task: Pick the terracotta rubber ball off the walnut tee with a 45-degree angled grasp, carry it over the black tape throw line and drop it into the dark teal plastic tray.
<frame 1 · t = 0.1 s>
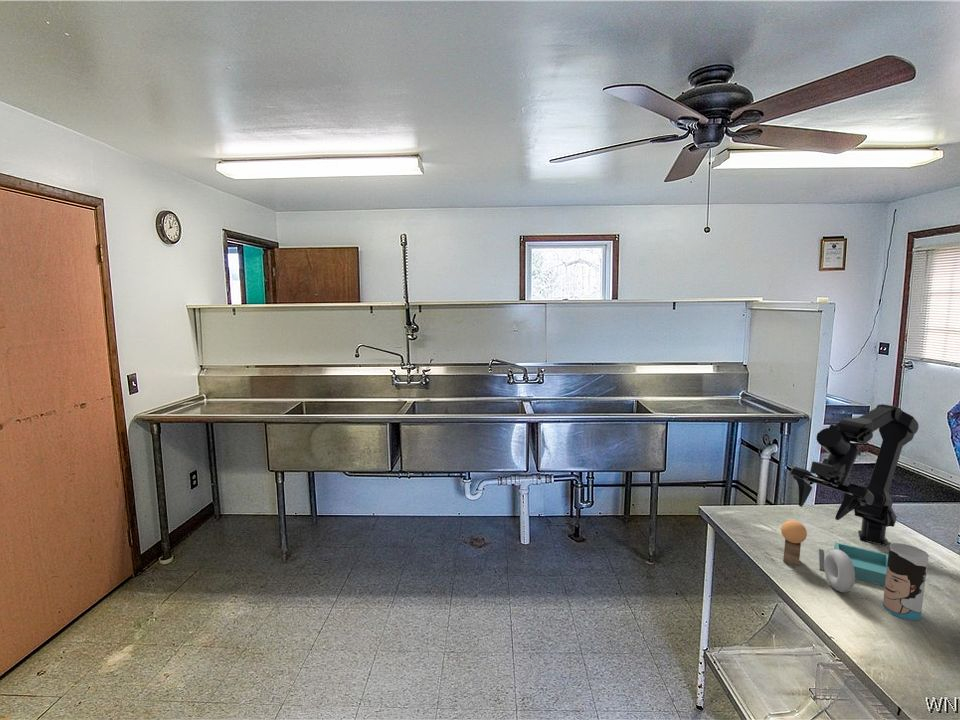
hand: (817, 512, 130), 15 cm above the table, tool tilted 35°, fingers open, 9 cm apart
ball: (793, 531, 132), point 9 cm above the table, touching tee
tee: (791, 560, 133), on the table
tray: (862, 569, 129), on the table
cup: (901, 611, 112), on the table
donut: (837, 589, 120), on the table
throw line: (821, 559, 134), on the table
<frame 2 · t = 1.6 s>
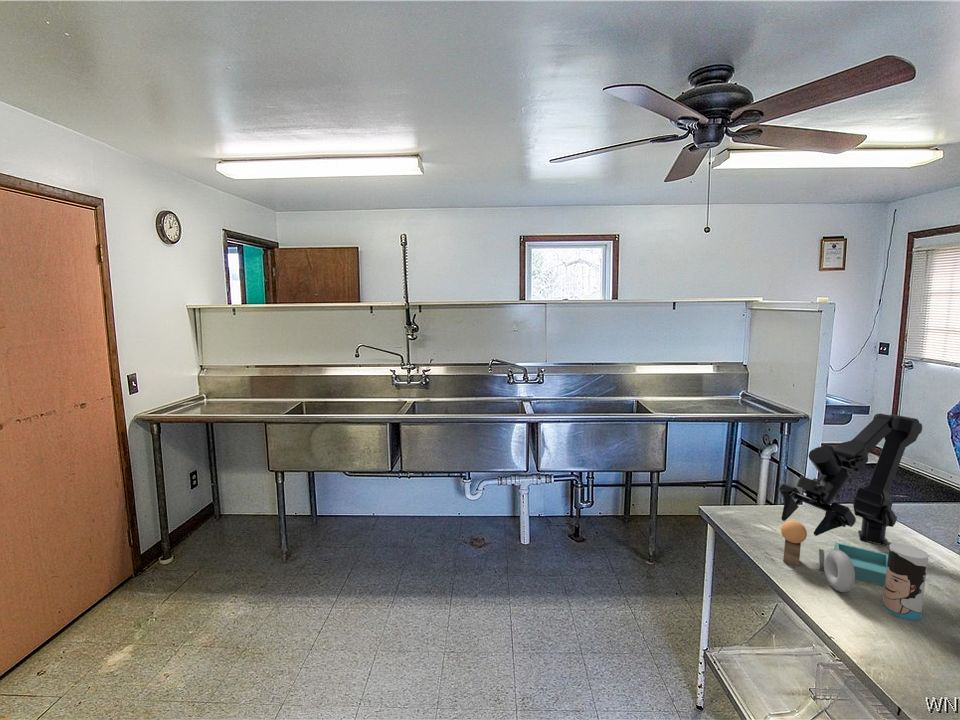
hand: (798, 527, 132), 10 cm above the table, tool tilted 45°, fingers open, 9 cm apart
nothing on the table moved.
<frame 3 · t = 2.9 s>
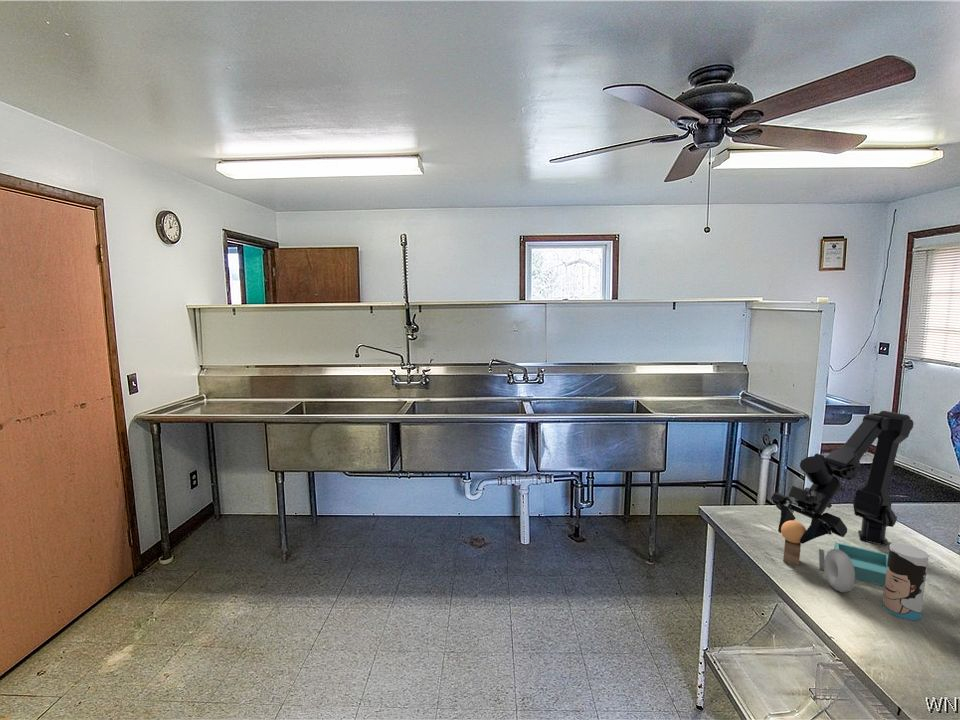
hand: (789, 537, 132), 7 cm above the table, tool tilted 45°, fingers closed on ball, 6 cm apart
ball: (793, 531, 132), point 9 cm above the table, touching gripper, tee
everything else where it was.
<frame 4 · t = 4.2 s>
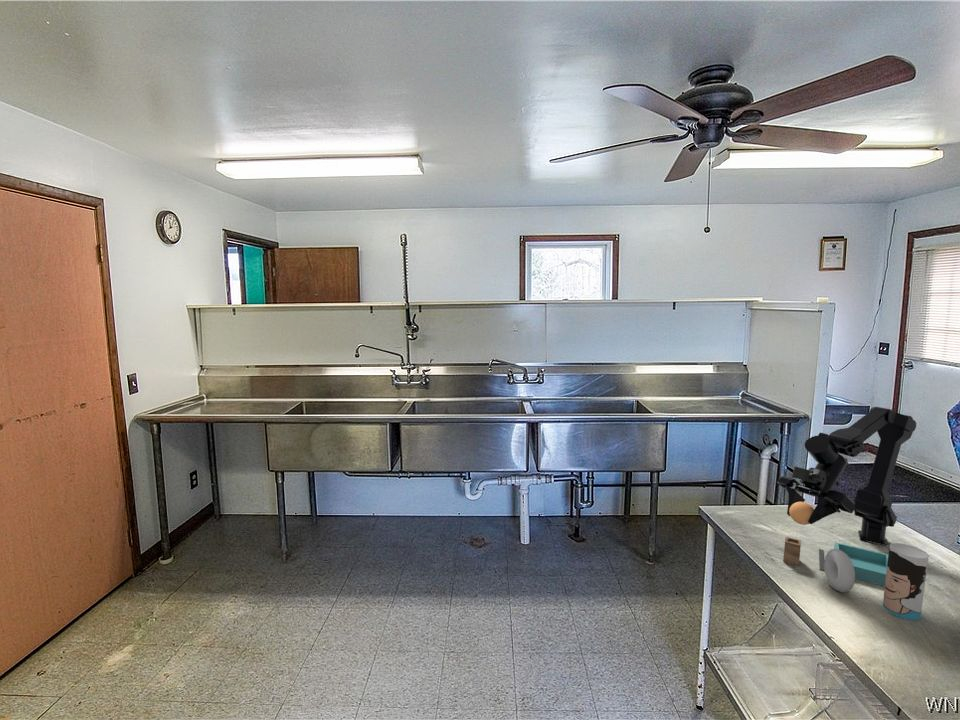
hand: (798, 519, 130), 13 cm above the table, tool tilted 40°, fingers closed on ball, 6 cm apart
ball: (802, 513, 130), point 14 cm above the table, tilted 7°, touching gripper
everything else where it was.
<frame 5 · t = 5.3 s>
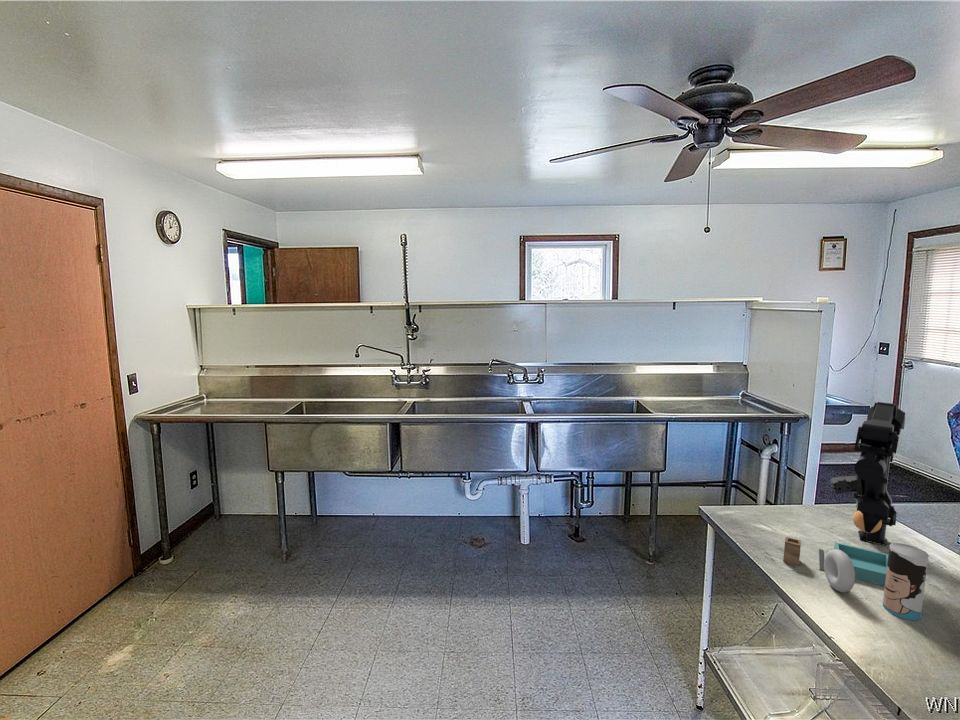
hand: (866, 527, 128), 12 cm above the table, tool pointing down, fingers closed on ball, 6 cm apart
ball: (867, 520, 127), point 14 cm above the table, tilted 45°, touching gripper
everything else where it was.
when the fingers open (4 cm above the table, at t = 6.6 s): ball drops 2 cm, resting on tray.
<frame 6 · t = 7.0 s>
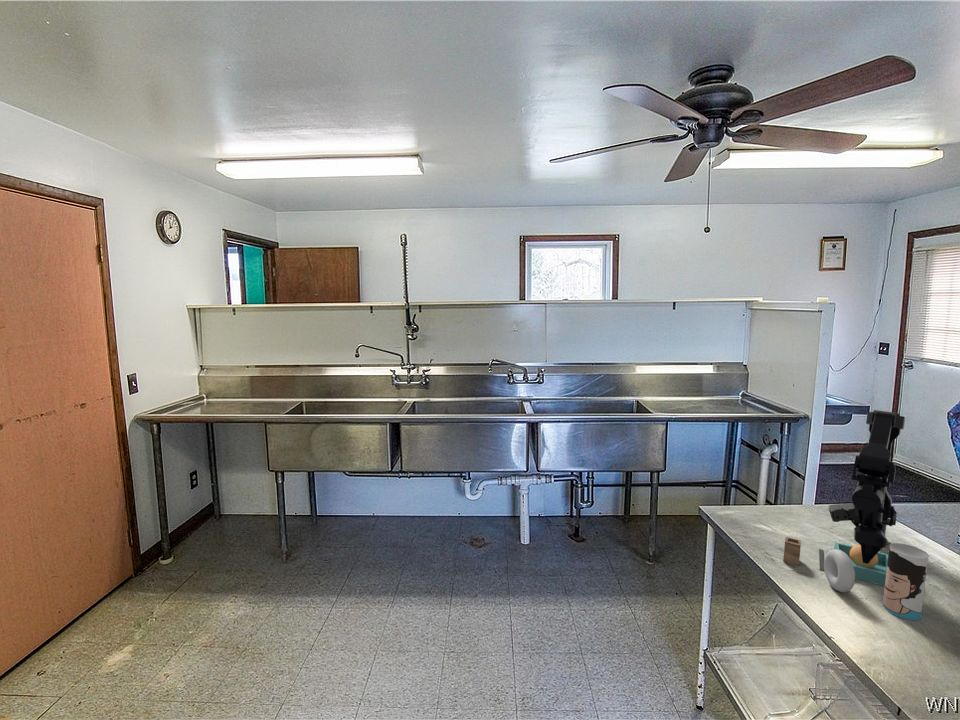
hand: (863, 555, 129), 4 cm above the table, tool pointing down, fingers open, 9 cm apart
ball: (863, 556, 129), point 4 cm above the table, tilted 45°, touching tray
everything else where it was.
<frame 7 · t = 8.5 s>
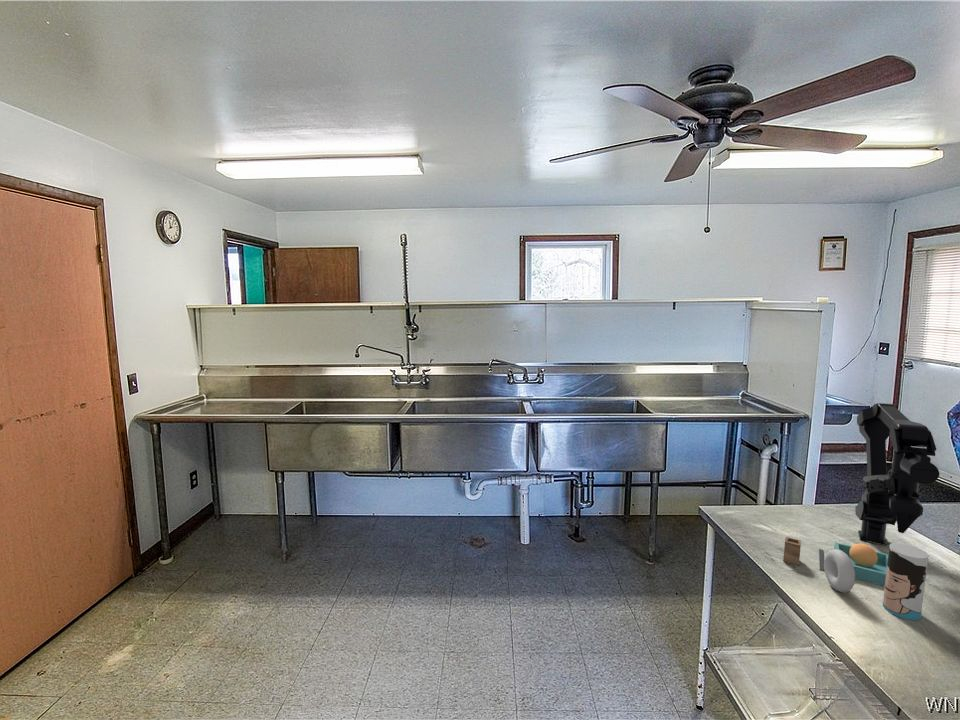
hand: (898, 525, 129), 12 cm above the table, tool pointing down, fingers open, 9 cm apart
nothing on the table moved.
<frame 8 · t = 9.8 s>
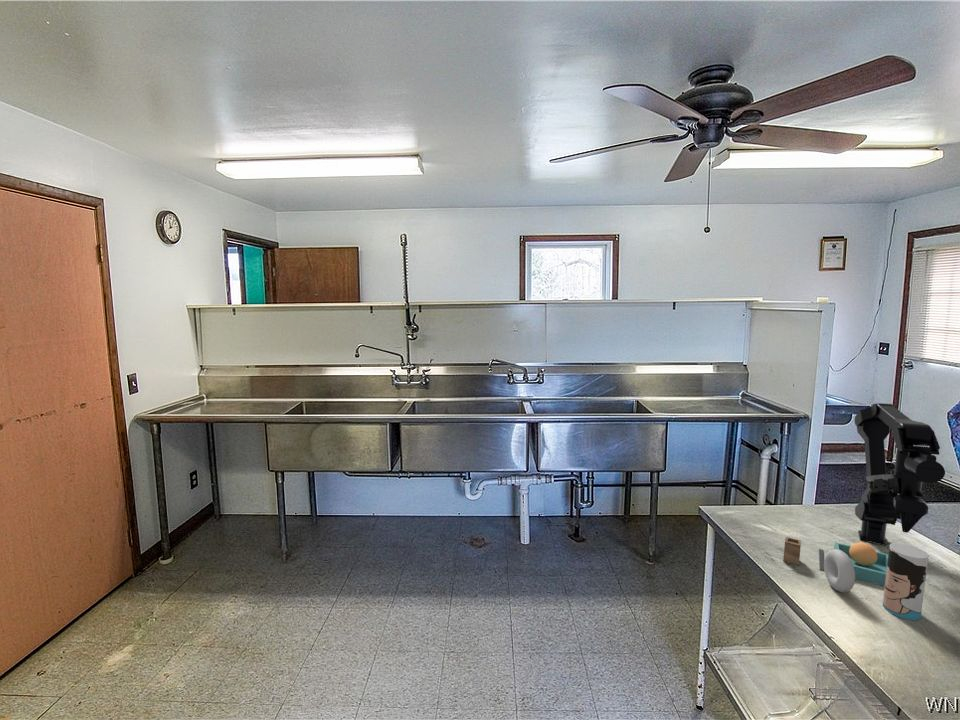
hand: (902, 525, 129), 12 cm above the table, tool pointing down, fingers open, 9 cm apart
ball: (863, 554, 130), point 4 cm above the table, tilted 54°, touching tray
everything else where it was.
at the end: ball inside the target area on the tray (1.8 cm from its centre), point 3.6 cm above the tray's base; ball inside the target area (3.5 cm from its centre), point 3.6 cm above the table; the gripper is holding nothing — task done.
